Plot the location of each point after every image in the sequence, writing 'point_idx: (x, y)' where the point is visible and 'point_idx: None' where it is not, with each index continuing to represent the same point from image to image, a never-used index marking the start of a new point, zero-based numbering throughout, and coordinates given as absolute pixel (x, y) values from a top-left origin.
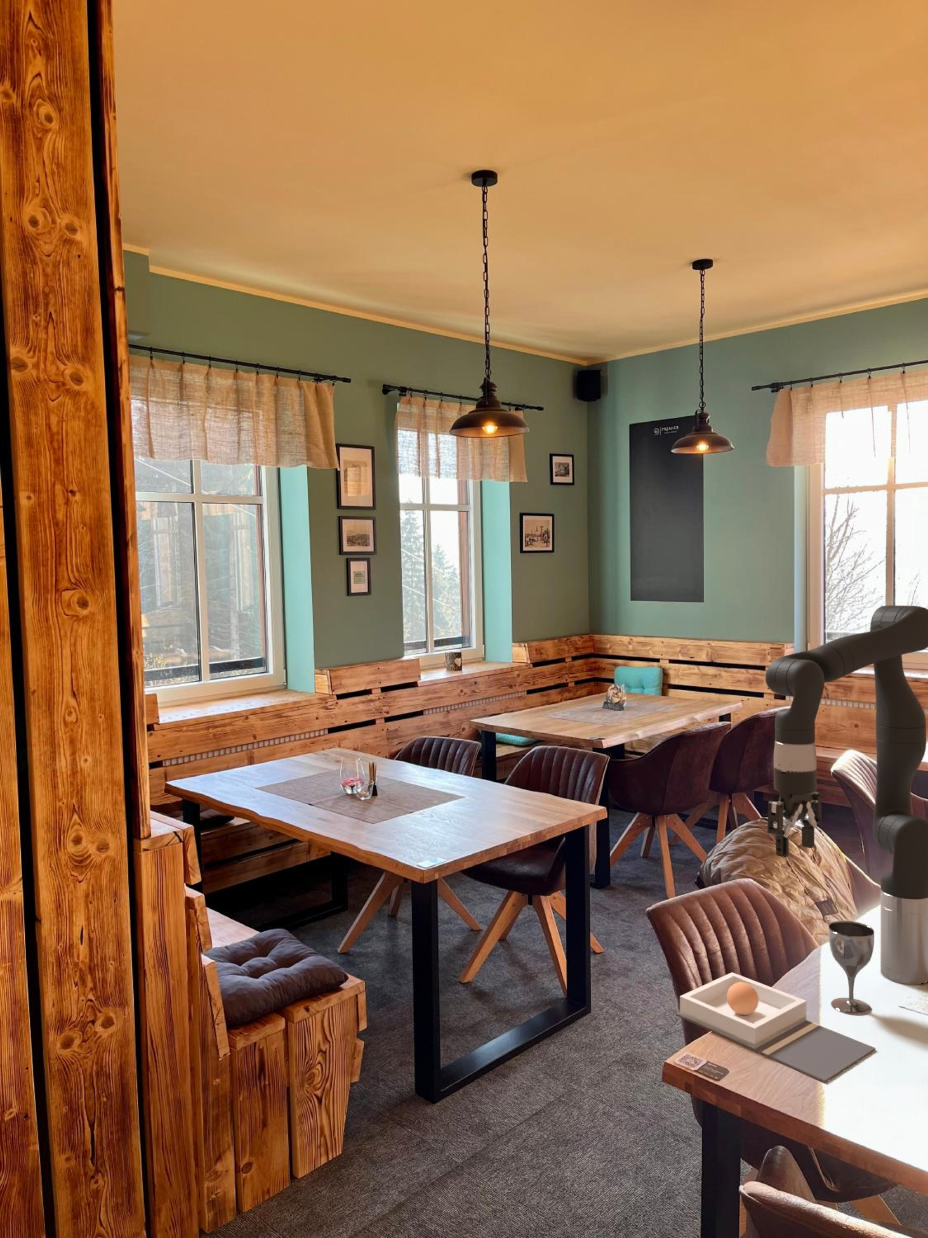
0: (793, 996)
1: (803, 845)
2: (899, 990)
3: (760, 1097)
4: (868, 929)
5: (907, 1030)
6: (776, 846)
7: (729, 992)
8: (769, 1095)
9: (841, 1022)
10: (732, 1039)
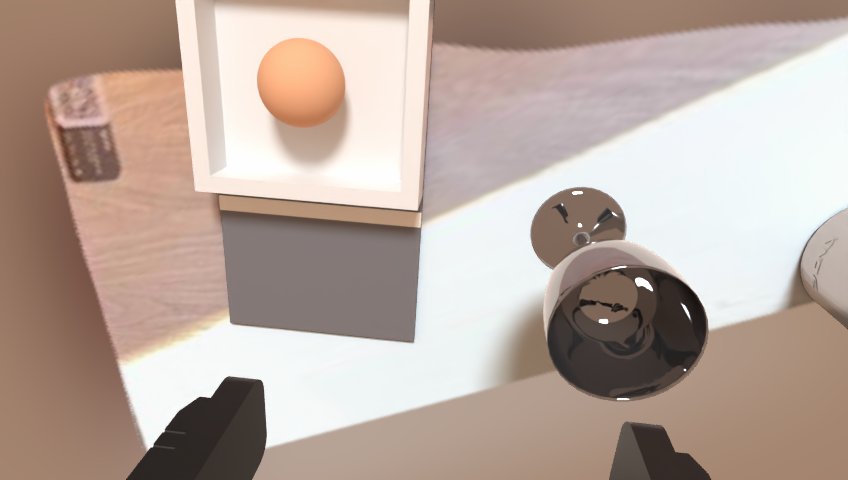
0: (416, 176)
1: (623, 434)
2: (753, 277)
3: (101, 263)
4: (688, 362)
5: (545, 353)
6: (155, 447)
7: (262, 61)
8: (119, 271)
9: (483, 247)
10: None
